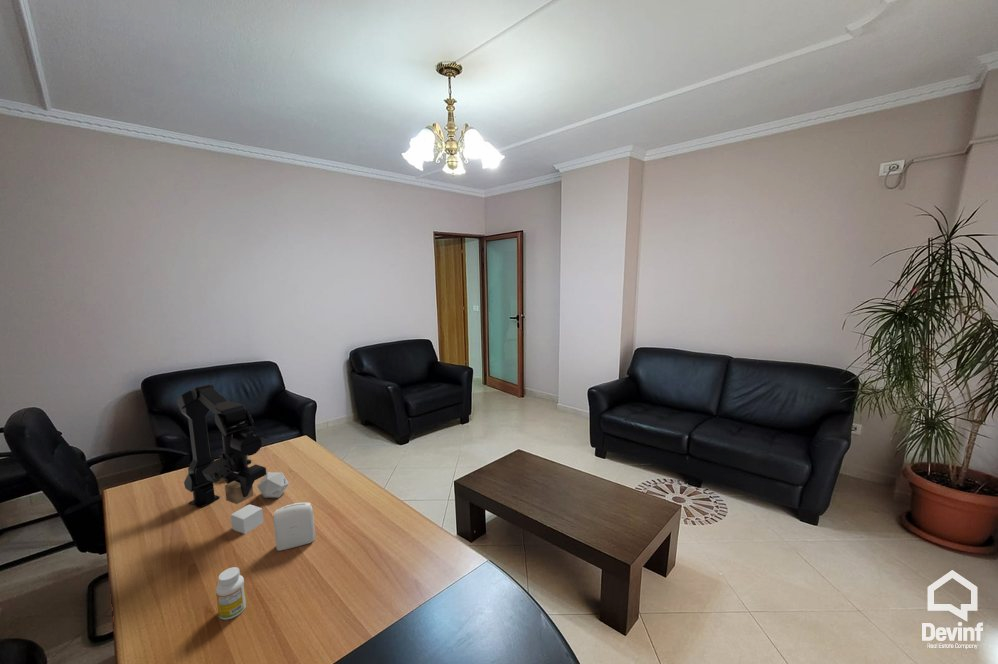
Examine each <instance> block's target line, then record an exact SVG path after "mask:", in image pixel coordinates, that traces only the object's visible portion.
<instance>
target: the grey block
mask: <svg viewBox="0 0 998 664" xmlns="http://www.w3.org/2000/svg"><path fill="white" fill-rule="evenodd" d="M230 520H231V521H230V523H231V530H234V531H235V532H239V533H241V534H244V535H246V534H248V533H249V532H251V531H253V530H254V529H256V528H257V527H259V526H260V525H263V524H264V521H265V520H264V511H263V508H262V507H259V506H257V505H253V504H250V503H249V504H247V505H246V506H244V507H242V508H240V509H238V510H236V511H235V512H233V513H231V514H230Z"/></svg>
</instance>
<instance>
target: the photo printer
mask: <svg viewBox="0 0 998 664" xmlns="http://www.w3.org/2000/svg"><path fill="white" fill-rule="evenodd" d="M313 509H314V508H313V507H312V504H311V502H296V503H290V504H288V505H284V506H282V507H279V508H278V509H276V510H274V514H273V529H274V538H275V541H274V542H275V549H276V551H280V552H281V551H284V550H285V551H286V550H288V549H292V548H297V547H300V546H304V545H307V544H310V543H314V541H315V540H316V530H315V520H314V510H313Z"/></svg>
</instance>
